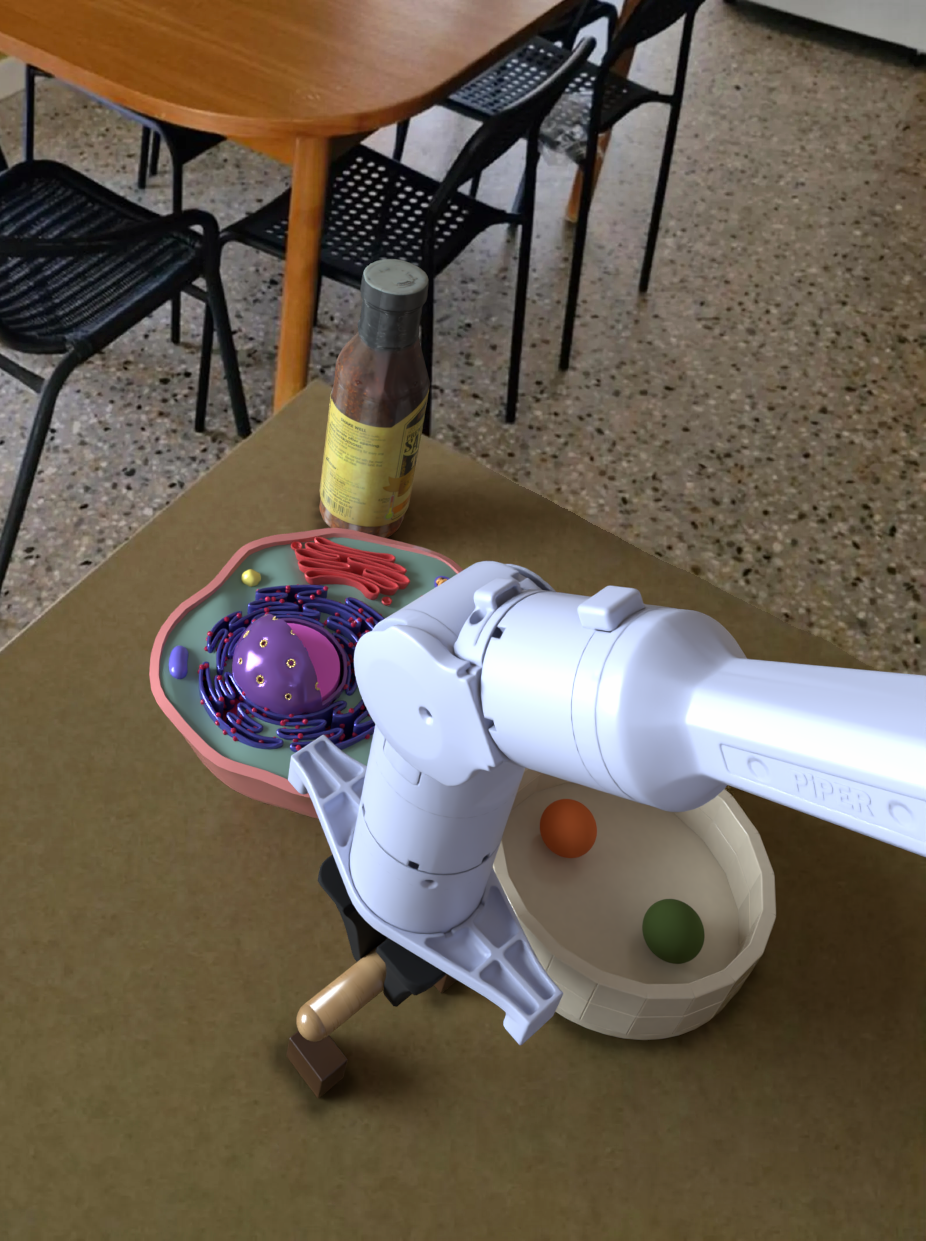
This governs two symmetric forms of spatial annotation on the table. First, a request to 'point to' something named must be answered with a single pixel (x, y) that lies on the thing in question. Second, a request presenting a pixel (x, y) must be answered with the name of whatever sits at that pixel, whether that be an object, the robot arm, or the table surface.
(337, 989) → the stick
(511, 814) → the cream shallow round container
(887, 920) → the table surface
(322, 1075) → the stick rest
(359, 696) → the cell model
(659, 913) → the green ball
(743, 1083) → the table surface
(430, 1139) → the table surface
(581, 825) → the orange ball
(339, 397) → the sauce bottle
